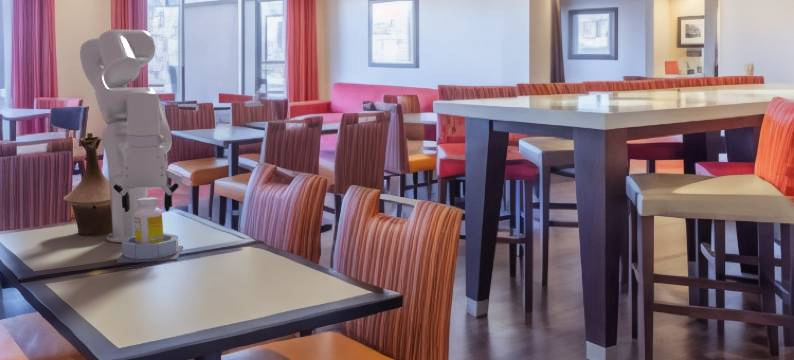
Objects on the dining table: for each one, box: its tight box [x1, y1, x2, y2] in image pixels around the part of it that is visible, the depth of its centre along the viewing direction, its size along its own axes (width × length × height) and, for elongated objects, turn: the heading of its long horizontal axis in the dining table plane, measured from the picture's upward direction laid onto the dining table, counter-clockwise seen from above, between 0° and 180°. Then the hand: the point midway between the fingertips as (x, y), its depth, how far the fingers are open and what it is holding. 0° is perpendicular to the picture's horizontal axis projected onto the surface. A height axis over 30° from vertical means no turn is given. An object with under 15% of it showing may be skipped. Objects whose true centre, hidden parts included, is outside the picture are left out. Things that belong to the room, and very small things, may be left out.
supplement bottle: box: [134, 197, 164, 244], centre depth 203 cm, size 7×7×13 cm
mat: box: [116, 245, 184, 264], centre depth 204 cm, size 14×14×1 cm
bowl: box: [121, 232, 180, 260], centre depth 203 cm, size 13×13×4 cm
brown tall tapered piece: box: [63, 132, 112, 237], centre depth 230 cm, size 18×17×28 cm
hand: (147, 210), depth 203 cm, fingers open, 9 cm apart
